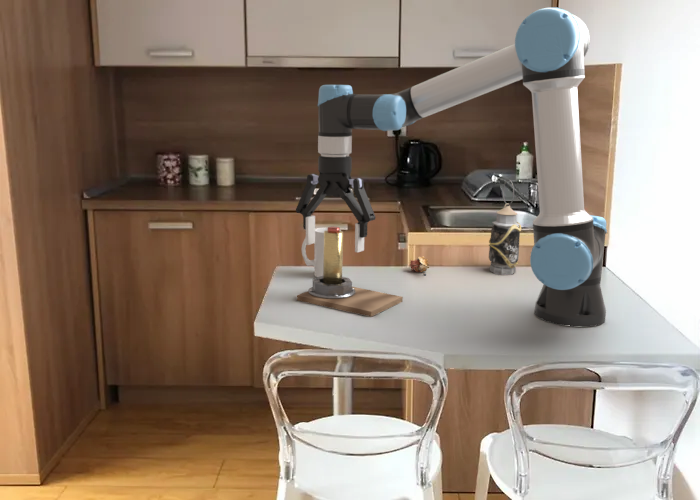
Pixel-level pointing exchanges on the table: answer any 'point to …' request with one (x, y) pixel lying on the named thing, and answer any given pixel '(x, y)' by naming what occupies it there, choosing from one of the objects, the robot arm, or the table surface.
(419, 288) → the table surface
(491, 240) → the lantern
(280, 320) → the table surface
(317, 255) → the mug
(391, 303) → the board
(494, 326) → the table surface
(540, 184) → the robot arm
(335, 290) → the flange socket
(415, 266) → the figurine
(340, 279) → the gold cylinder
